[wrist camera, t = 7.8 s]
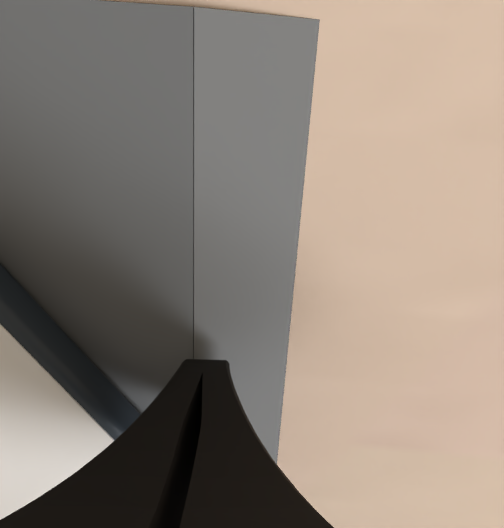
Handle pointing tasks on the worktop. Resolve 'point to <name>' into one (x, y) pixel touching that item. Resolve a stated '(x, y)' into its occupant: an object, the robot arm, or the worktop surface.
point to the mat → (158, 185)
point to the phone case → (48, 402)
